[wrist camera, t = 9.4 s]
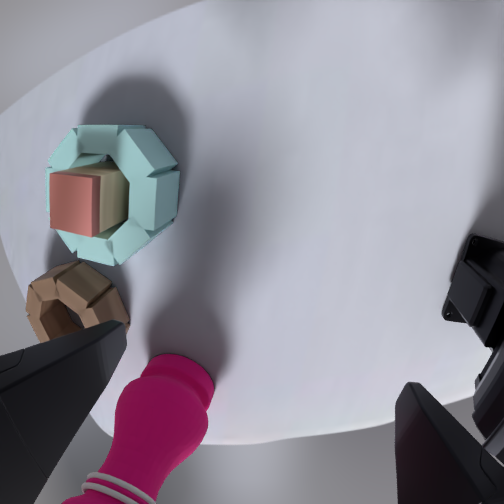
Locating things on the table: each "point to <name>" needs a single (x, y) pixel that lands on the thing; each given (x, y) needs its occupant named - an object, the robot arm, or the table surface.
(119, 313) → the brown segmented ring
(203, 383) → the pepper mill
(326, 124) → the table surface
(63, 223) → the pink two-tone square block
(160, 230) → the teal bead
